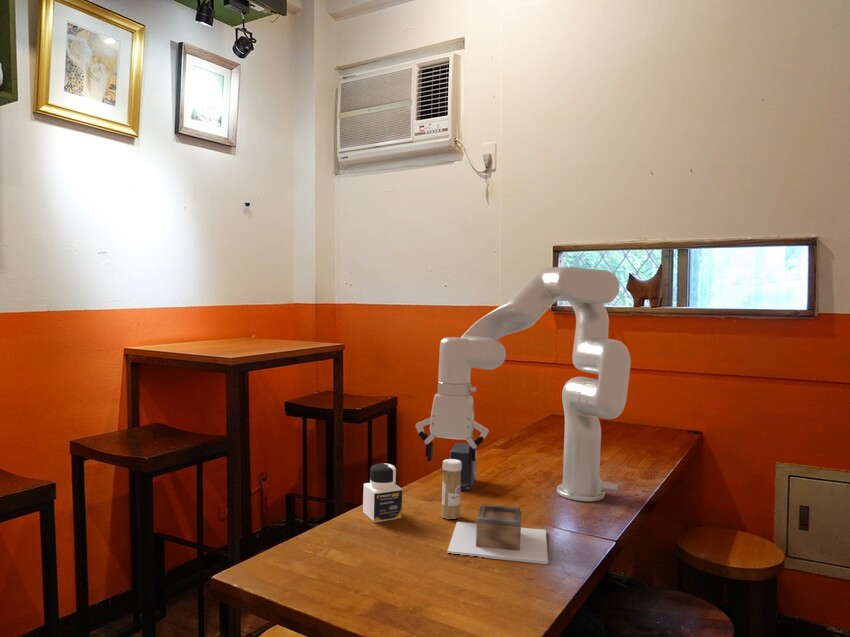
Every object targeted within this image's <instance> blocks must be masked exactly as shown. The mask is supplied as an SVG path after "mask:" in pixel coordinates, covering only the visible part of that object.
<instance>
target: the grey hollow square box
mask: <svg viewBox="0 0 850 637" xmlns="http://www.w3.org/2000/svg"><path fill="white" fill-rule="evenodd" d="M476 523H477V529H476V547H485V548H495V549H505V550H515V551H520V536H521V528H522V527H521V526H522V511H521V507H517V506H513V507H512V506H505V505H503V506H502V505H493V504H492V505H491V504H481V503H480V507H479V512H478V515H477V519H476Z"/></svg>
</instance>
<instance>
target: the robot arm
mask: <svg viewBox="0 0 850 637" xmlns="http://www.w3.org/2000/svg"><path fill="white" fill-rule="evenodd" d="M619 292H620V282H619V279H618V278H617V276H616V274H614V273H613V272H612V271H610V270H606V269H595V268H585V267H584V268H582V267H574V266H554V267H546V268H543V269H540V270H538V271H537V272H536V273H535V274H534V275H532V277H531V278H530V279H529V280H528V281H527V282H526V283H524V285H523V286H522V287H521V288H520V289H519V290H518V291H517V292H516V293H514V295H513V296H512V297H511V298H510V299H509V300H508V301H506V302H505V303H504V304H502V305H499V307H497V308H495V309H494V310H492V311H490V312H489V313H487V314H485V315H484V316H483V317H481V318H479V319H478V320H476V322H474V323H473V324H472V325H471V326H470V327H469V328H468V329H467V330H466V331H465V332H464V333H463V334H462V335H461V337H458V336H457V337H456V336H455V337H454V336H451V337H450V336H448V337H447V336H446V337H444V338H442V339H441V340H440V343H439V358H438V379H437V393H434V397H433V402H432V406H431V411H430V412H431V413H430V417H428V418H425V419H424V420H421V421H419V422H416V424H414V425H415V426H414V427H415V430H416V431H417V432H418V436H419V437H420V438H421V440H422V441H423V442H424V444H425V454H424V457H427V462H431V461H432V460H433V457H434V456H433V454H434V442H433V440H434V439H435V438H439V439H441V438H442V439H449V440H450V439H451V440H462V441H463V440H465V441H466V442H467V444H470V448H469V459H468V465H472V461H475V455H476V456H477V447H478V446H480V444H482V443H483V442H484V440H485V439H486V437H487V435H488V434H489V432H490V431H489V429H488V428H487V427H485V426H483V425H482V424H480V423H478V422H477V421H476V420H475V404H474V396H473V395H470V394H471V393H476V392H477V386H474V385H472V384H471V370H472V368H473V369H482V370H488V371H489V370H495V369H497V368H499V367H500V366H501V365H503V363H504V362H505V359H506V355H507V354H506V348H505V346H504V345H503V344H502V343H501V342H500V341H499V339H501V338H503V337H505V336H508V335H510V334H514V333H518V332H521V331H524V330H527V329H529V328H531V327H533V325H535V324H536V323H537V321H538V320H539V319H541V317H542V316H543V315H544V314H545V313H546V312H547V311H548V310H549V308H551V307H552V306H553V305H554V303H556V302H558V301H559V302H568V303H569V304H570V306H571V307H572V309H573V311H574V314H575V315H574V316H575V332H574V338H573V339H574V341H573V349H572V356H571V357H572V359H571V360H572V364H573V366H574V367H575V369H577V370H578V371H581V372H585V373H588V374H589V373H590V374H595V375H598V379H597V378H591V377H588V376H587V377H586V376H576V377H572V378H570V379H569V380H568V381H566V382H565V384H564V385H563V388H562V392H561V400H562V407H563V412H564V437H563V438H564V439H563V440H564V441H563V442H564V443H563V461H562V462H563V463H562V464H563V465H562V466H563V468H562V483H560V484H559V485H557V487H556V494H558V495H559V496H561V497H563V498H565V499H569V500H573V501H577V502H597V501H602V500H603V499H604V498H605V497H606V491H610V492H616V493H617V492H618V490H619V489H618V488H619V487H618V484H617V483H612V481H603V480H602V478H601V477H600V474H601V472H600V471H601V442H602V428H601V427H602V426H601V422H600V419H604V420H614V419H616V418H618V417H619V416H620V415H621V414H622V413H623V411H624V410H625V407H626V403H627V396H628V388H629V381H630V372H631V365H632V361H631V360H632V359H631V355H630V352H629V349H628V346H626V344H624V343H623V342H622V341H620V340H618V339H612V338H609V326H610V319H609V314H608V310H607V309H606V306H605V305H604V304H608V303H611V302H612V301H614V300H615V299H616V298H617V296H618V294H619ZM427 425H429V435H428V434H427V433H426V431H425V430H424V427H426V426H427ZM475 429H476V430H477V431H479V432H480V435H479V436H478V437H477V438H476V439H475V438H474V436H473V434H474V433H475V432H474V431H475Z"/></svg>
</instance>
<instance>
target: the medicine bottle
mask: <svg viewBox="0 0 850 637" xmlns="http://www.w3.org/2000/svg"><path fill="white" fill-rule="evenodd" d="M369 471H370V472H369V482H365V483H363V491H362V492H363V495H362V512H363V513H364V515H366V517H368V519H370V520H371V521H372V523H379V522H385V521H391V520H397V519H398V518H399V519H401V518H402V515H403V512H402V510H403V488H402V487H400V486H399V485H397V484H396V482H397V480H396V477H397V476H396V475H397V468H396V467H395V465H393V464H391V463H381V462H380V463H376V464H374V465H372V466H371V467H370V470H369Z"/></svg>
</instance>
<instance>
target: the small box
mask: <svg viewBox="0 0 850 637" xmlns="http://www.w3.org/2000/svg"><path fill="white" fill-rule="evenodd" d="M469 448H470V444H469V443H464V442H463V443H462V442H455V444H454V445H453V447H452V448H451V450H450V451H449V459H456V460H460V461H461V462H462V469H461V483H460V488H461V490H460V491H465V492H466V491H471V490H472V488H473V485H474V483H475V481H476V471H477V470H476V467H477V466H476V465H477V454H476V455H475V461H472V465H468V459H469Z"/></svg>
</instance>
